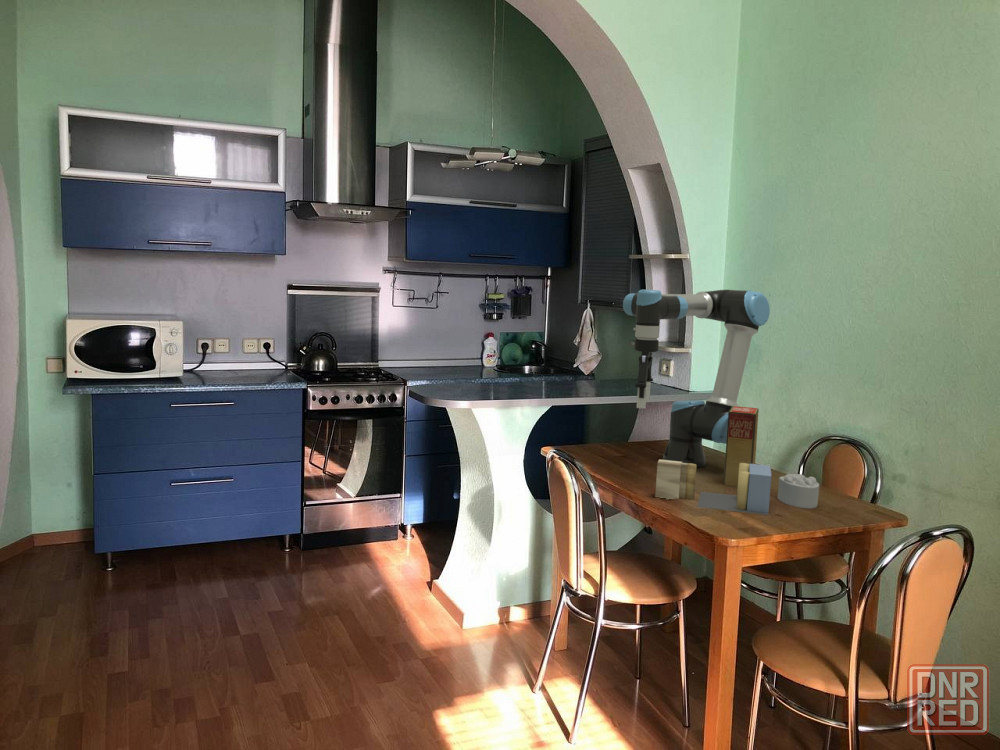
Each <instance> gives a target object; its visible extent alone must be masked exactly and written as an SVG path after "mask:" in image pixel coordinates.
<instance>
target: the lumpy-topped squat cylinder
mask: <svg viewBox="0 0 1000 750" xmlns="http://www.w3.org/2000/svg"><path fill="white" fill-rule="evenodd" d="M819 492H820V483H819V482H818V481H817V479H816V477H814V476H808V477H806V476H805V475H803V474H799V473H795V474H794V473H787V474H785V475H783V476H782V475H781V476H779V477H778V488H777V499H778V500H779V501H780V502H781V503H783V504H786V505H788V506H791V507H794V508H795V507H796V508H800V509H816V508H817V507H818V505H819V504H818V502H819Z"/></svg>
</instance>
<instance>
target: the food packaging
mask: <svg viewBox="0 0 1000 750" xmlns="http://www.w3.org/2000/svg"><path fill="white" fill-rule="evenodd" d="M758 423H759V408H758V407H748V406H747V407H746V406H740V405H738V406H732V408H731V409H730V410H729V412H728V427H727V442H726V446H725V457H724V459H725V460H724V468H723V469H724V470H723V471H724V472H723V485H726V486H732V487H738V476H739V464H740V463H747V464H756V455H757V438H758Z"/></svg>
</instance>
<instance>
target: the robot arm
mask: <svg viewBox="0 0 1000 750" xmlns="http://www.w3.org/2000/svg"><path fill="white" fill-rule="evenodd" d="M770 308H771V307H770V303H769V300H768V298H767V297H766V296H765V295H764V293H762V292H759V291H756V290H755V291H753V290H736V289H735V290H734V289H718V290H707V291H699V292H696V293H694V294H692V293H690V294H687V293H685V294H684V293H683V294H681V293H680V294H679V293H677V294H675V293H662V292H661V290H660V289H640V290H638V291H637V292H635V293H629V294H627V295H625V297H624V298H623V301H622V309H623V311H624V313H625V314H626V315H628V316H631V317H632V316H633V317H635V327H633V328H632V329H633V331H635V332H634V333H635V334H634V336H635V339H634V348H633V349H634V351H636V352H640V353H641V355H639V357H638V376H637V383H636V384H635V386H634V387H635V388H637V393H636V394H637V395H636V409H646V406H647V403H649V402H650V401H651V400H650V398H651V382H653V381H654V378H653V377H652V366H653V356H652V355H653V353H655V352H658V351H659V343H660V342H659V338H660V328H661V320H673V321H676V320H681V319H683V318H684V317H689V316H690V317H693V316H695V317H696V318H698V319H707V320H712V321H718V322H721V323H723V325H724V327H725V329H726V331H727V332H726V334H725V340H724V344H723V348H722V352H721V356H720V361H719V365H718V369H717V373H716V378H715V382H714V386H713V390H712V395H711V396H710V398H708V399H706V401H704V400H702V399H701V400H700V399H688V400H687V399H685V400H683V399H682V400H676V401H673V402H672V404H671V410H670V418H669V419H670V421H669V422H670V423H669V438H668V442H667V445H666V447H665V450H664V452H663V457H662V460H670V461H679V462H682V463H692V464H696V465H697V466H696V468H700V467H704V466H705V465H706V460H707V459H706V455H705V451H704V446H703V440H705V441H711V442H714V443H718V444H726V442H727V427H728V412H729V410H730V409H731V408H732V406H739V405H738V404H737V403H738V402H737V401H738V397H739V393H740V389H741V385H742V380H743V376H744V372H745V367H746V364H747V358H748V356H749V351H750V346H751V343H752V337H753V336H754V335H756V334H757V333H758V331H759V327H761V326H764V325H765V324H767V322H768V320H769V318H770V317H769V316H770V312H771V311H770V310H771V309H770Z"/></svg>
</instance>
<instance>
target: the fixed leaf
mask: <svg viewBox="0 0 1000 750" xmlns="http://www.w3.org/2000/svg"><path fill="white" fill-rule="evenodd" d="M771 485H772V470H771V465H769V464H758V463H755V464H747V463H740V464H739V476H738V486H737V487H736V488H737V489H736V496H737V505H736V508H737V509H739V510H747V511H755V512H763V513H768V514H769V511H770V510H769V509H770V498H771V487H772V486H771Z"/></svg>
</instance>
